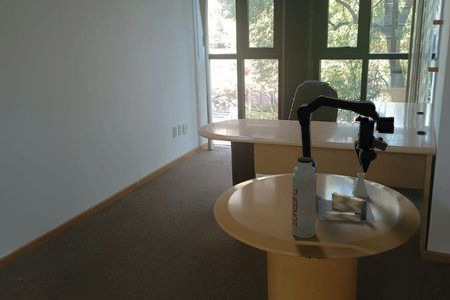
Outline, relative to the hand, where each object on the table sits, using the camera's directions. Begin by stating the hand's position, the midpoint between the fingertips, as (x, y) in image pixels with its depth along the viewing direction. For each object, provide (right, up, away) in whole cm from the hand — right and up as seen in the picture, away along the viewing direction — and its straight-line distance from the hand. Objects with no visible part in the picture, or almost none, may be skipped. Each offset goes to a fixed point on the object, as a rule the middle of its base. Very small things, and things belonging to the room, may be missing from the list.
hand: (363, 168), depth 168 cm
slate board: (-11, -17, -10) cm, 22 cm away
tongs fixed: (-13, -18, -17) cm, 28 cm away
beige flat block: (-10, -16, -11) cm, 22 cm away
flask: (+1, -12, +7) cm, 14 cm away
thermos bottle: (-30, -22, -26) cm, 46 cm away
